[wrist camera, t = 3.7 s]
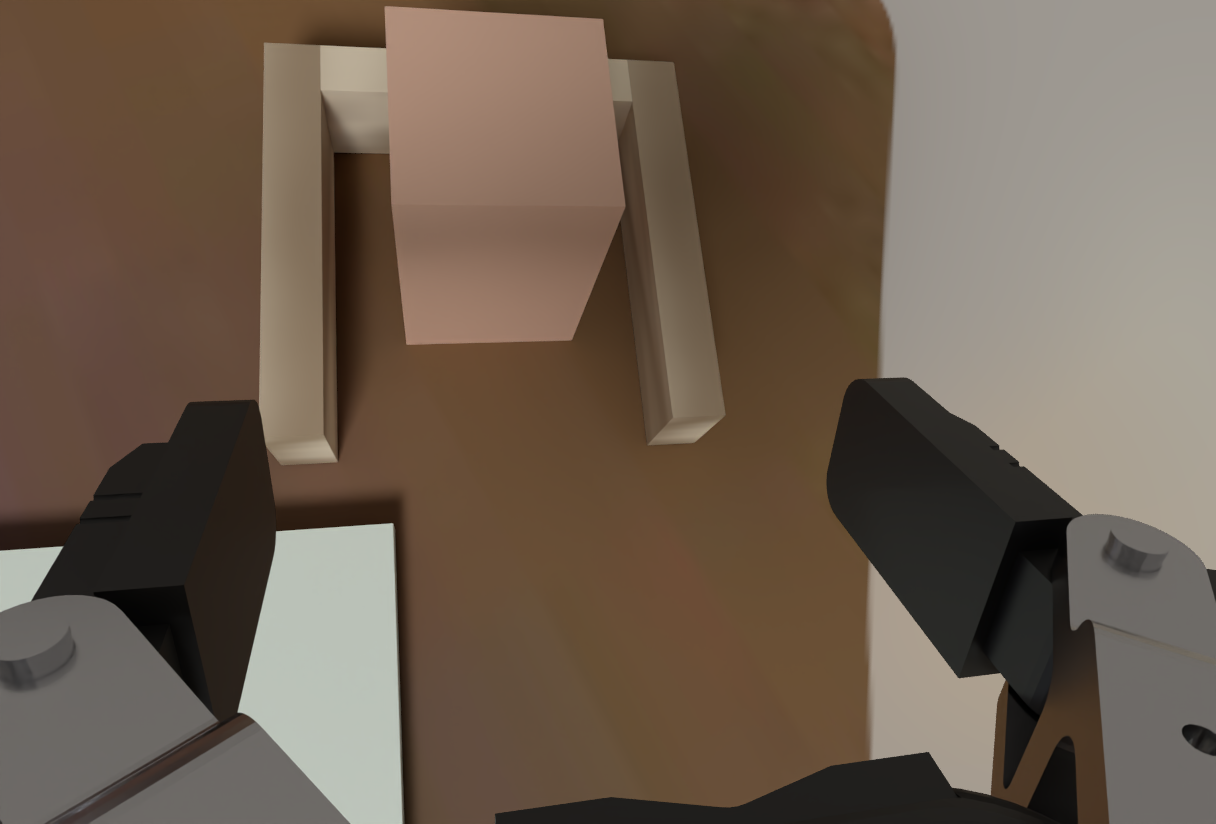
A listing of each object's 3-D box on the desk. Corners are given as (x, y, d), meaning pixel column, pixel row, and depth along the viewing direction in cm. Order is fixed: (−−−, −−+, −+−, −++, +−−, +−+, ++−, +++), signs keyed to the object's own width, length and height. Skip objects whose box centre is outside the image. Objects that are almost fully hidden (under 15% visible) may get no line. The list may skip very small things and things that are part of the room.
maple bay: (281, 465, 23) (258, 437, 20) (283, 110, 26) (264, 42, 23) (693, 442, 25) (725, 415, 23) (651, 121, 29) (673, 62, 26)
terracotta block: (406, 344, 25) (391, 204, 17) (401, 196, 26) (384, 6, 18) (571, 340, 26) (625, 206, 18) (558, 198, 27) (602, 18, 20)
